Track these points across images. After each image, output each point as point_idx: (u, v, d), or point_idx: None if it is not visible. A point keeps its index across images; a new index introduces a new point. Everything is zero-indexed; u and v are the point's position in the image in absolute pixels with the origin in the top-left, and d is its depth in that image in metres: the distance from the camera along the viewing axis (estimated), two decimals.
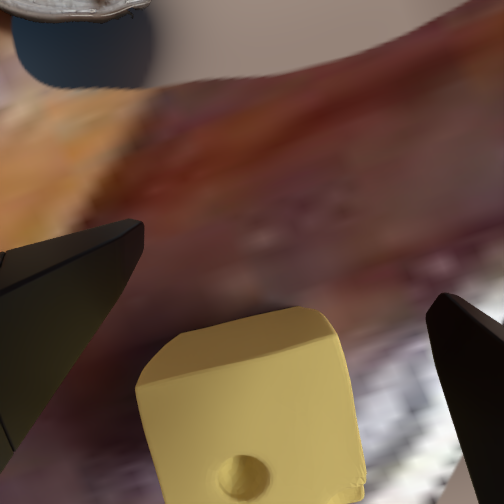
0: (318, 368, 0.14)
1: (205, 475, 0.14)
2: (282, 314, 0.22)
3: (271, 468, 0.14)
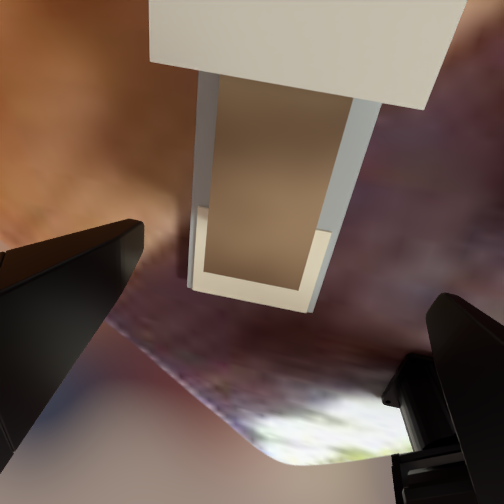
0: None
1: None
2: None
3: None
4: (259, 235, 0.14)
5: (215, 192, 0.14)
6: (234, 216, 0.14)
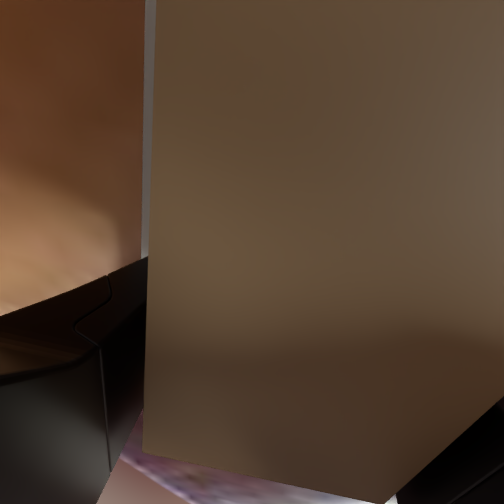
0: None
1: None
2: None
3: None
4: (303, 405, 0.05)
5: (166, 289, 0.04)
6: (231, 356, 0.04)
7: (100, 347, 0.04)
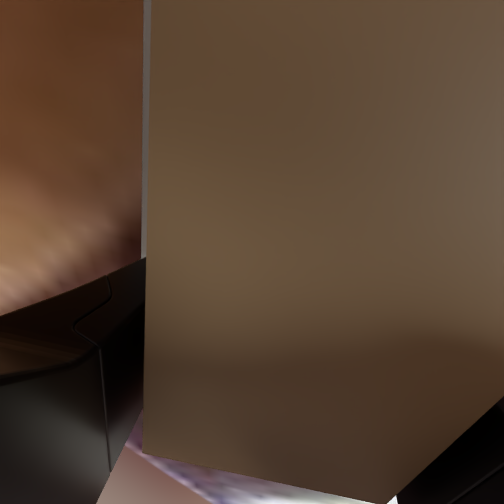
0: None
1: None
2: None
3: None
4: (304, 405, 0.05)
5: (165, 288, 0.04)
6: (230, 356, 0.04)
7: (100, 347, 0.04)
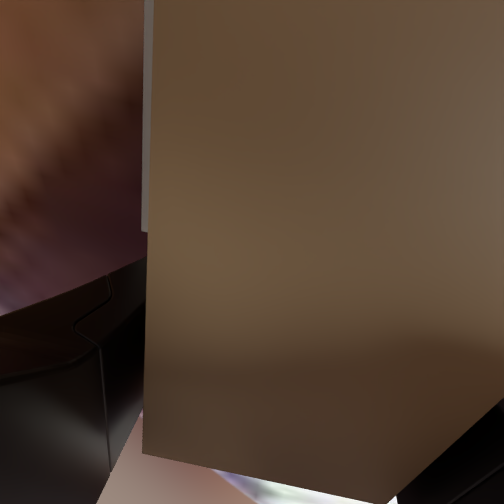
0: None
1: None
2: None
3: None
4: (304, 405, 0.05)
5: (165, 288, 0.04)
6: (231, 356, 0.04)
7: (100, 347, 0.04)
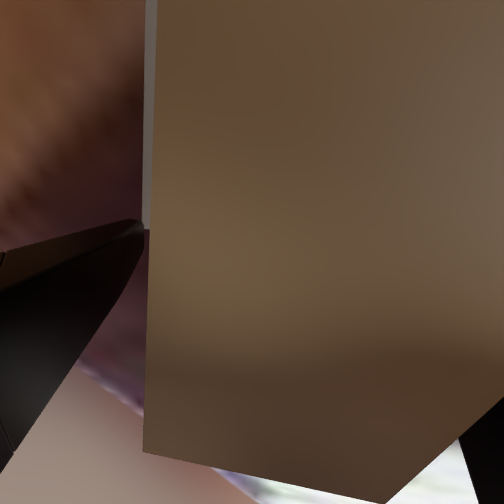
0: None
1: None
2: None
3: None
4: (305, 404, 0.05)
5: (167, 286, 0.04)
6: (232, 355, 0.04)
7: None
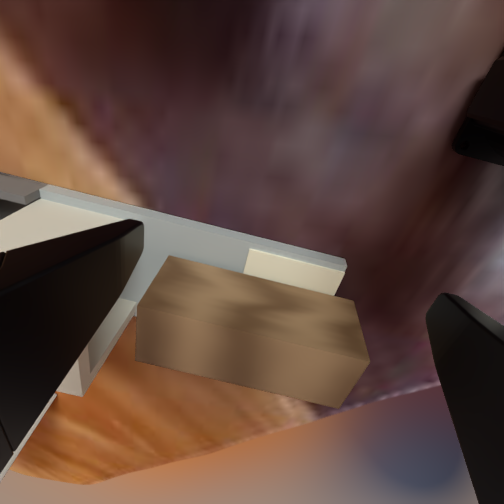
0: None
1: None
2: None
3: None
4: (312, 376, 0.19)
5: (277, 391, 0.20)
6: (295, 386, 0.20)
7: None
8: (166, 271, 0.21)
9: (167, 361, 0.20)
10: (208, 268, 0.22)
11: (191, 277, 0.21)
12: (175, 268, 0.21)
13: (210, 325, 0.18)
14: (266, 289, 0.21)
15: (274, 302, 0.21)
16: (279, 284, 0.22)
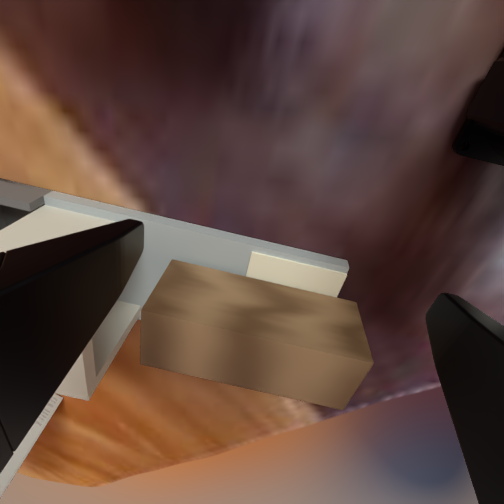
0: None
1: None
2: None
3: None
4: (316, 378, 0.19)
5: (281, 393, 0.21)
6: (299, 388, 0.20)
7: None
8: (169, 275, 0.21)
9: (171, 364, 0.20)
10: (211, 271, 0.22)
11: (194, 280, 0.21)
12: (178, 272, 0.21)
13: (214, 328, 0.18)
14: (269, 292, 0.22)
15: (277, 305, 0.21)
16: (281, 286, 0.22)
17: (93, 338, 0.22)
